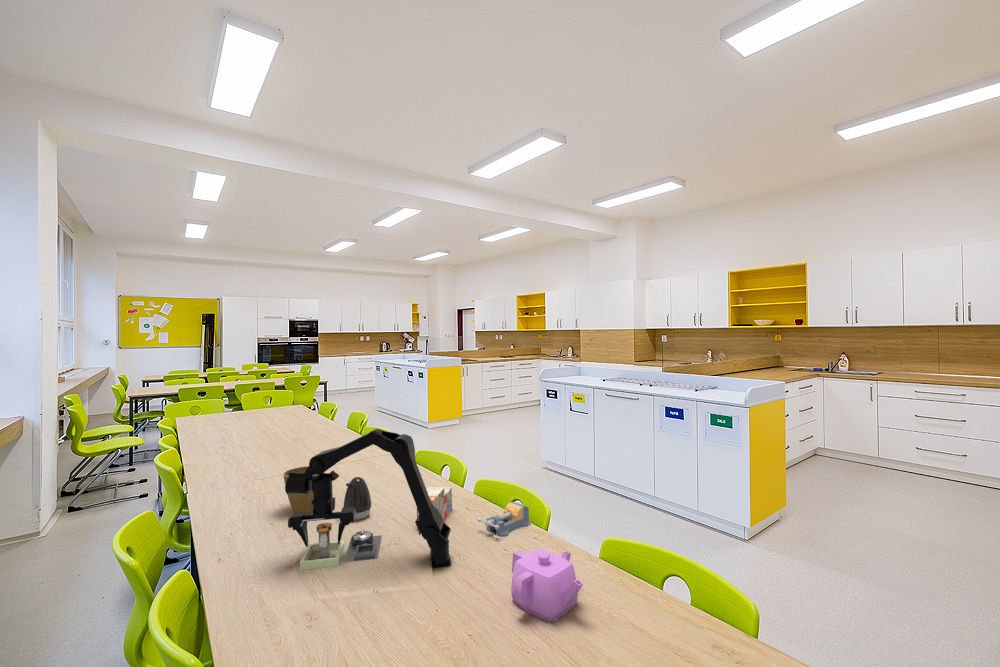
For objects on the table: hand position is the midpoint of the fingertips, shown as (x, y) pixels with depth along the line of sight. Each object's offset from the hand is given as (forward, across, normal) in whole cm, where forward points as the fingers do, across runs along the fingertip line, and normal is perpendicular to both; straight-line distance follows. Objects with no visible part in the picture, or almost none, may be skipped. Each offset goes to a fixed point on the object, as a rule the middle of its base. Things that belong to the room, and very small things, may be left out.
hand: (323, 544), depth 136 cm
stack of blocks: (+5, -35, -22) cm, 42 cm away
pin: (+4, 0, 0) cm, 4 cm away
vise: (+5, -59, -11) cm, 60 cm away
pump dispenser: (+5, -6, -32) cm, 33 cm away
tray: (+5, 0, 0) cm, 5 cm away
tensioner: (+5, -12, -4) cm, 13 cm away
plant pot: (+5, +15, -42) cm, 45 cm away
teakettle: (+5, -61, +34) cm, 70 cm away
